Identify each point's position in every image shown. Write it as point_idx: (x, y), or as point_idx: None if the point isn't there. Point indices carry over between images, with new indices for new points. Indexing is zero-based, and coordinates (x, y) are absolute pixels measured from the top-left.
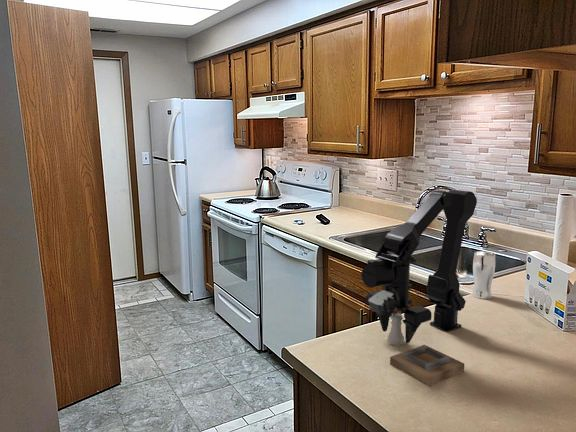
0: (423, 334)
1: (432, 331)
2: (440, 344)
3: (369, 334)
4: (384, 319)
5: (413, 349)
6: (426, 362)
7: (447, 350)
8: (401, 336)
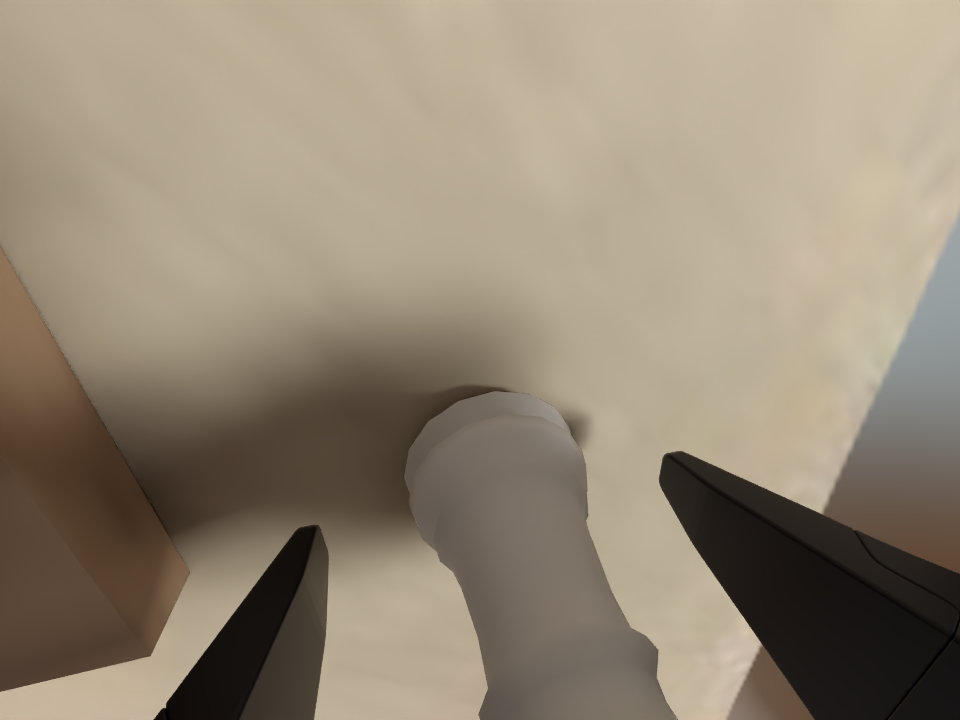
0: None
1: None
2: None
3: (757, 335)
4: (793, 587)
5: (14, 510)
6: None
7: None
8: (442, 546)
